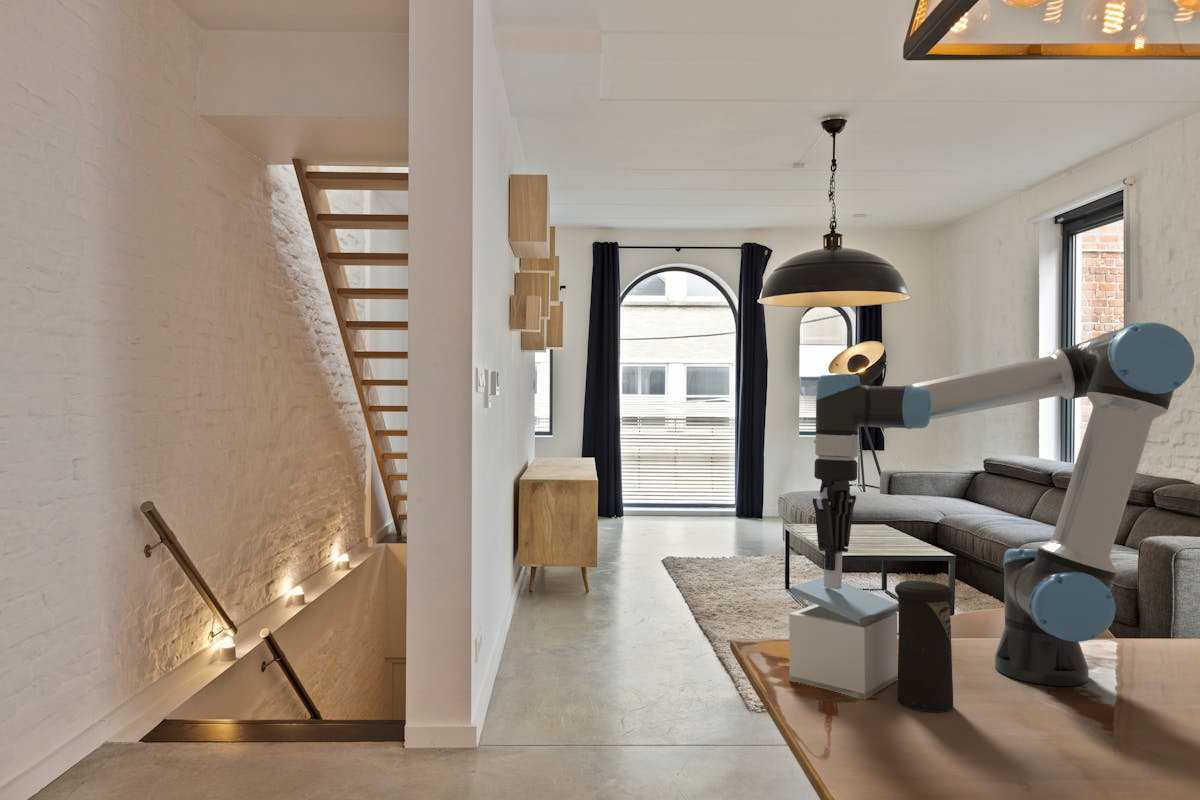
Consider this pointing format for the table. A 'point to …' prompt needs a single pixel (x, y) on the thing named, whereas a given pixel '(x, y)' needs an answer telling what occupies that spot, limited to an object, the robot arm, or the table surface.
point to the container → (924, 646)
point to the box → (842, 652)
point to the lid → (846, 601)
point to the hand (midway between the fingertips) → (832, 587)
